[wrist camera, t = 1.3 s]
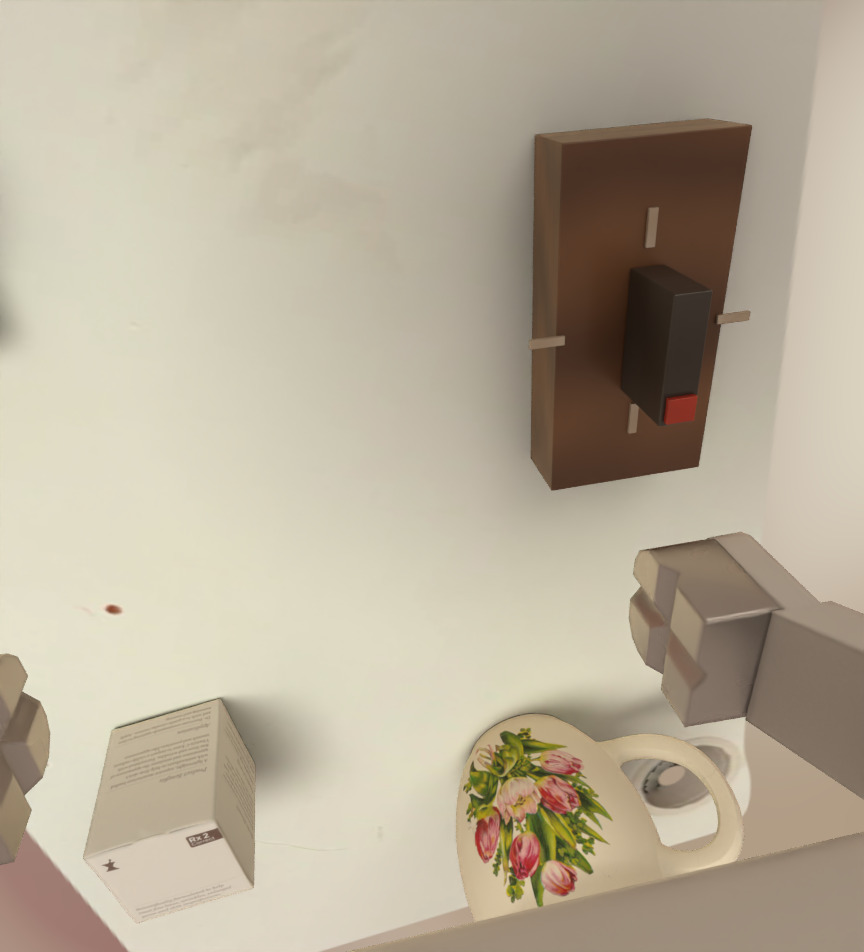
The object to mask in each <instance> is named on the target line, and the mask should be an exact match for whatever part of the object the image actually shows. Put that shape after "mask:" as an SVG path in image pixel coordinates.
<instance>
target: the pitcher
mask: <svg viewBox="0 0 864 952" xmlns="http://www.w3.org/2000/svg"><path fill="white" fill-rule="evenodd" d="M645 758H648V759H658V760H664V761H669V762H673V763H676V764H679V765H681V766H683V767H685V768H687V769H689V770H690V771H692V772H693V773H694V774H695V775H696V776H697V777H699V779H700V780H701V781H702V782H703V784H704V785H705V786H706V787H707V789H708V791H709V792H710V794H711V796H712V797H713V800H714V803H715V805H716V809H717V815H718V828H717V832H716V835H715V836H714V838H713V840H712V841H711V842H710V843H709V844H708V845H706V846H704V847H703V848H700V849H697V850H691V851H679V850H675V849H672V848H670V847H667V846H665V845H663V844H662V843H661V841H660V838H659V835H658V832H657V830H656V827H655V825H654V823H653V820H652V818H651V816H650V814H649V812H648V810H647V808H646V806H645V804H644V802H643V800H642V799H641V797H640V795H639V794H638V792H637V790H636V789H635V787H634V786H633V785H632V783H631V782H630V781H629V779H628V778H627V776H626V775H625V774H624V773H623V771H622V770H621V766H622V764H624V763H625V762H628V761H631V760H636V759H645ZM743 840H744V824H743V821H742V816H741V811H740V807H739V805H738V802H737V800H736V798H735V795H734V793H733V791H732V789H731V787H730V786H729V784H728V782H727V781H726V779H725V777H724V776H723V774H722V773H721V771H720V770H719V769H718V768H717V766H716V765H715V764H714V763H713V761H712V760H711V759H710V758H709V757H707V756H706V755H705V754H704V753H703V752H702V751H701V750H699V749H698V748H696V747H694V746H693V745H691V744H689V743H687V742H685V741H682V740H680V739H677V738H674V737H669V736H665V735H659V734H636V735H630V736H625V737H620V738H616V739H612V740H608V741H602V742H596V741H593V740H592V739H591V738H590V737H589V736H587V735H586V734H584V733H583V732H581V731H580V730H578V729H577V728H576V727H574V726H572V725H570V724H568V723H565V722H563V721H561V720H559V719H558V718H556V717H553V716H550V715H545V714H527V715H521V716H517V717H513V718H510V719H508V720H505V721H503V722H501V723H499V724H497V725H495V726H494V727H492V728H491V729H489V730H488V731H487V732H486V733H485V734H483V735H482V737H481V738H480V739H479V740H478V741H477V742H476V744H475V746H474V747H473V750H472V752H471V755H470V757H469V759H468V761H467V763H466V765H465V768H464V770H463V774H462V777H461V781H460V786H459V792H458V799H457V811H456V842H457V853H458V860H459V866H460V872H461V877H462V881H463V886H464V890H465V894H466V898H467V901H468V904H469V907H470V910H471V912H472V915H473V918H474V920H475V922H477V921H481V920H486V919H490V918H494V917H499V916H503V915H507V914H511V913H516V912H520V911H524V910H529V909H533V908H537V907H542V906H546V905H550V904H554V903H559V902H563V901H567V900H572V899H576V898H580V897H585V896H589V895H593V894H597V893H602V892H606V891H610V890H615V889H619V888H623V887H628V886H632V885H636V884H640V883H645V882H649V881H653V880H658V879H662V878H666V877H671V876H675V875H679V874H683V873H688V872H692V871H696V870H701V869H705V868H709V867H714V866H718V865H722V864H726V863H731V862H735V861H736V860H737V857H738V856H739V854H740V852H741V849H742V844H743Z"/></svg>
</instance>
